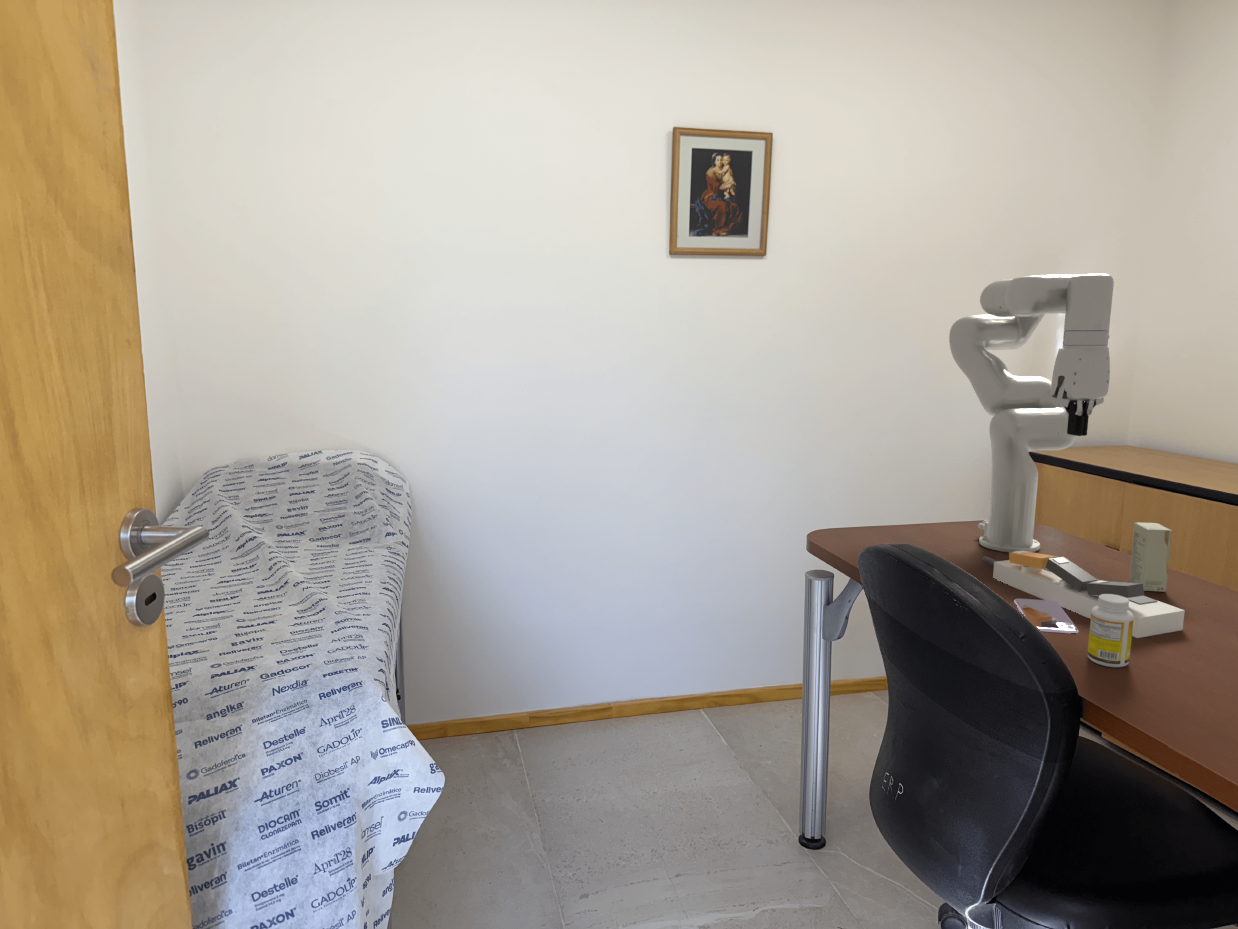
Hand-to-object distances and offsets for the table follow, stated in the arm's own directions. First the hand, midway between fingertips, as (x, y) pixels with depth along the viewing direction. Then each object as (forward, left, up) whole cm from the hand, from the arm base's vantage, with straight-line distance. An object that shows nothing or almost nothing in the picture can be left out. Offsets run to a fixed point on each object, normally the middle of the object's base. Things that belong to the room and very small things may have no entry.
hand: (1076, 434), depth 156 cm
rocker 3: (+21, -11, -23) cm, 33 cm away
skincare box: (+10, +10, -29) cm, 33 cm away
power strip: (+8, -9, -29) cm, 31 cm away
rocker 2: (+12, -11, -23) cm, 29 cm away
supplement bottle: (+33, -26, -29) cm, 51 cm away
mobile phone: (+15, -20, -30) cm, 39 cm away
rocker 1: (+3, -11, -23) cm, 26 cm away
